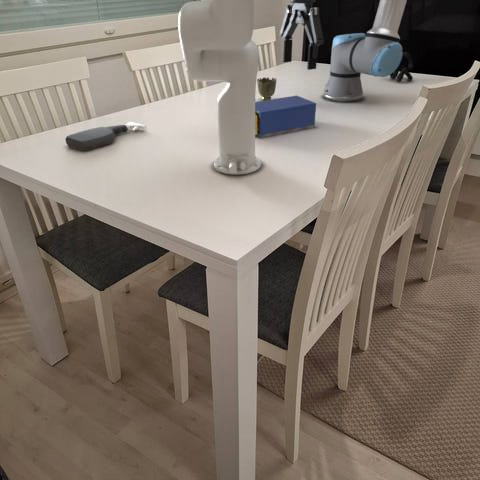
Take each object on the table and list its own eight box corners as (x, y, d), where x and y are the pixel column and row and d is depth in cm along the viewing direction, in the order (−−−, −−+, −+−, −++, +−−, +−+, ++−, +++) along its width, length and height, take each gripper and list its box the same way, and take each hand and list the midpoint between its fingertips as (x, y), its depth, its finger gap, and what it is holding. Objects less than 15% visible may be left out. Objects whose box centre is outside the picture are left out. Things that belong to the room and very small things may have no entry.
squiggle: (400, 92, 202) (376, 71, 205) (417, 76, 202) (392, 56, 205) (405, 81, 191) (380, 59, 194) (423, 64, 191) (397, 42, 194)
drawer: (238, 138, 136) (238, 118, 132) (224, 129, 143) (223, 110, 140) (305, 125, 145) (306, 107, 142) (288, 117, 152) (289, 99, 149)
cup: (253, 101, 174) (253, 80, 169) (261, 97, 179) (262, 76, 175) (271, 103, 171) (271, 82, 166) (279, 99, 176) (279, 78, 172)
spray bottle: (63, 145, 135) (128, 126, 151) (84, 153, 129) (149, 132, 145) (61, 135, 134) (127, 117, 150) (83, 143, 128) (148, 123, 144)
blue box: (260, 137, 138) (260, 112, 134) (243, 127, 147) (243, 103, 143) (314, 127, 146) (316, 103, 142) (295, 118, 155) (296, 95, 150)
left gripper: (262, 20, 119) (262, 86, 128) (235, 14, 132) (237, 75, 141) (237, 21, 116) (238, 89, 125) (212, 16, 130) (215, 77, 139)
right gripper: (341, -12, 120) (333, 71, 131) (290, -15, 139) (287, 58, 150) (318, -11, 117) (312, 73, 128) (269, -14, 136) (268, 60, 147)
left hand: (237, 81), depth 133 cm, fingers open, 9 cm apart
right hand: (299, 65), depth 139 cm, fingers open, 13 cm apart
